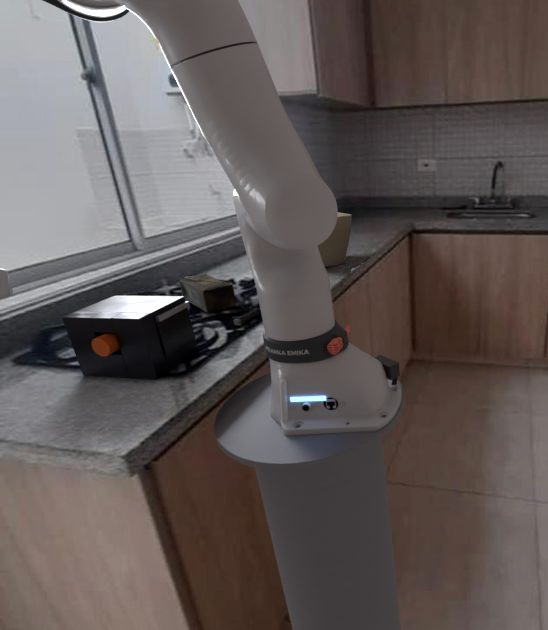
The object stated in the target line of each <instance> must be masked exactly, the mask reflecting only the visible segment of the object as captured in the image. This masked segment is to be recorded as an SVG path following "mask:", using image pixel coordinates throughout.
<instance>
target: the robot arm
mask: <svg viewBox="0 0 548 630" xmlns="http://www.w3.org/2000/svg"><path fill="white" fill-rule="evenodd" d="M41 1H43V2H45V3H47V4H49V5H52V6H54V7H55V8H57V9H59V10H61V11H64V12H65V13H68V14H70V15H72V16H75V17H77V18H79V19H82V20H85V21H89V22H94V23H110V22H114V21H117V20H120V19H122V18H123V17H125V16H126V15H127V14H129V12H131V13H133V14H134V15H135V16H136V17H138V19H140V20H141V21H142V22H143V24H144V25H145V26H146V27H147V28H148V30H149V31H150V32H151V34H152V35H153V37H154V38H155V40H157V42H158V44H159V47H160V50H161V53H162V54H163V56H164V58H165V61H166V63H167V65H168V67H169V69H170V72H171V73H172V75H173V77H174V79H175V81H176V83H177V85H178V87H179V90H180V91H181V93H182V95H183V97H184V100H185V101H186V103H187V105H188V109H190V112H191V114H192V116H193V118H194V120H195V122H196V124H197V126H198V128H199V130H200V133H201V134H202V136H203V138H204V139H205V141H206V143H207V144H208V146H209V148H210V149H211V151H212V152H213V154H214V156H215V157H216V159H217V160H218V162H219V164H220V166H221V168H222V170H223V171H224V173H225V175H226V176H227V178H228V180H229V182H230V183H231V185H232V187H233V197H232V198H233V206H234V211H235V214H236V219H237V223H238V227H239V232H240V235H241V238H242V242H243V246H244V249H245V254H246V256H247V261H248V264H249V267H250V270H251V274H252V277H253V280H254V285H255V289H256V294H257V299H258V305H259V308H260V309H261V320H262V325H263V329H264V331H263V332H262V338H263V346H264V351H265V355H266V358H267V359H268V361H269V365H270V366H269V367H270V373H271V383H272V391H271V404H270V414H271V416H272V418H273V419H274V420H276V421H277V422H278V423H279V424H280V425H281V427H282V431H283V433H284V434H285V435H307V434H326V433H346V432H365V431H377V430H380V429H381V428H383V427H384V426H386V425H387V424H388V423H389V422H390V421H391V420H392V419H393V417H394V416H395V414H396V413H397V411H398V409H399V407H400V403H401V399H402V392H401V388H400V385H399V384H398V383H397V379H398V378H399V377H400V376H401V371H400V361H399V362H398V361H396V360H394V359H392V358H389V357H387V356H385V355H382V354H379V355H376V356H372V355H370V354H369V353H367V352H365V351H364V350H362V349H360V348H359V347H357V346H355V344H352V343H351V342H349V334H350V332H351V325H350V324H347V326H346V327H345V328H343V327H342V326H341V325H340V324H339V323H338V321H337V320H336V319H335V318H336V317H335V310H334V303H333V296H332V289H331V281H330V280H331V279H330V275H329V273H328V271H327V269H326V267H325V266H324V264H323V261H322V258H321V256H320V252H319V249H318V245H319V244H321V243H323V242H324V241H325V240H326V239H327V238H328V237H329V236H330V235H331V233H332V232H333V230H334V228H335V225H336V222H337V217H338V212H339V211H338V204H337V200H336V197H335V194H334V193H333V191H332V190H331V188H330V187H329V186H328V185H327V182H325V180H324V179H323V178H322V176H321V174H320V172H319V170H318V168H317V167H316V165H315V163H314V161H313V159H312V156H311V155H310V153H309V151H308V149H307V147H306V146H305V144H304V142H303V140H302V139H301V136H299V135H300V134H299V133H298V132H297V130H296V128H295V127H294V125H293V123H292V121H291V119H290V117H289V116H288V113H287V111H286V110H285V107H284V104H283V102H282V100H281V98H280V96H279V93H278V91H277V88H276V86H275V83H274V81H273V78H272V76H271V73H270V71H269V68H268V65H267V63H266V60H265V58H264V55H263V53H262V50H261V48H260V45H259V43H258V40H257V38H256V36H255V33H254V31H253V28H252V26H251V23H250V22H249V19H248V17H247V16H246V13H245V11H244V9H243V7H242V5H241V3H240V1H239V0H41ZM13 293H14V290H13V285H12V283H11V281H10V277H9V273H8V271H7V269H5V268H3V267H0V299H5V298H9V297H10V296H11V295H13ZM387 379H389V380H387ZM391 380H392V381H391ZM398 380H399V379H398Z"/></svg>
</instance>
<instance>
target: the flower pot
mask: <svg viewBox="0 0 548 630" xmlns="http://www.w3.org/2000/svg"><path fill="white" fill-rule="evenodd" d="M352 217H353V216H352V213H351V214H350V213H345V212H339V211H338V217H337V222H336V225H335V228H334V230H333V232H332V233H331V235H330V236H329V237H328V238H327V239H326V240H325V241H324V242H323V243H321V244H319V245H318V249H319V252H320V256H321V258H322V261H323V264H324V266H325V268H327V267H332V266H333V267H334V266H337V265H342V264H344V263H345V260H346V257H347V252H348V248H349V244H350V239H351V230H352V221H353V220H352Z"/></svg>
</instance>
